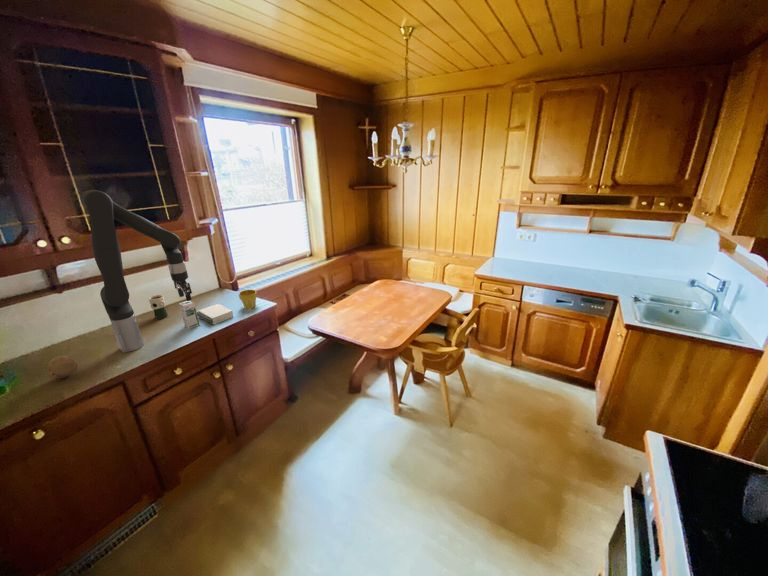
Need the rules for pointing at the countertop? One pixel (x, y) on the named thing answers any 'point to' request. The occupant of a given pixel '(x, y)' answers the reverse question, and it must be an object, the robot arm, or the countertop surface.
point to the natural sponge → (61, 367)
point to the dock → (215, 314)
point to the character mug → (158, 306)
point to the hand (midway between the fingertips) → (185, 298)
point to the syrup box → (189, 314)
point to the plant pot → (248, 298)
